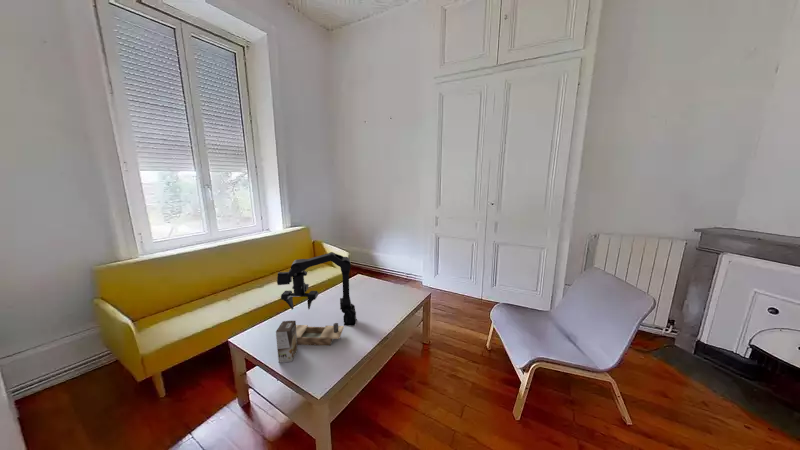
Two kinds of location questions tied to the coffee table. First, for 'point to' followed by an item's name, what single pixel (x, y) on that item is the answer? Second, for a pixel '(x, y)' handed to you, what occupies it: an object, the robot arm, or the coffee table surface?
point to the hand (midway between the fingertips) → (300, 309)
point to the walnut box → (313, 337)
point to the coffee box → (286, 341)
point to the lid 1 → (300, 330)
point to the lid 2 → (332, 332)
